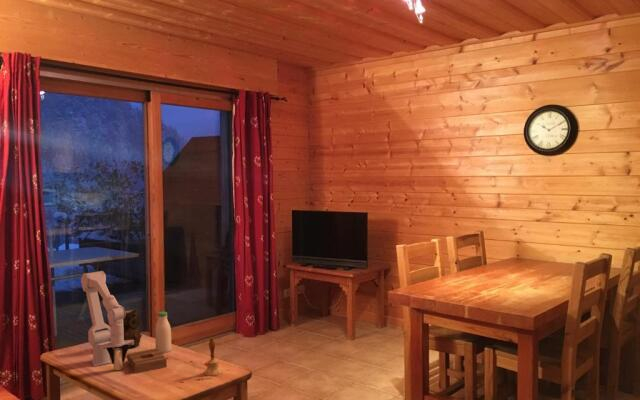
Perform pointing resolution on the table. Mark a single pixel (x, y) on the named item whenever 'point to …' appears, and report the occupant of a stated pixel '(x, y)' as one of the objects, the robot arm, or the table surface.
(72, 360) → the table surface
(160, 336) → the milk bottle
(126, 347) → the robot arm
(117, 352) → the cream peg
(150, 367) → the walnut holder
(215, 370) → the hand bell
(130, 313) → the owl
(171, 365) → the table surface
